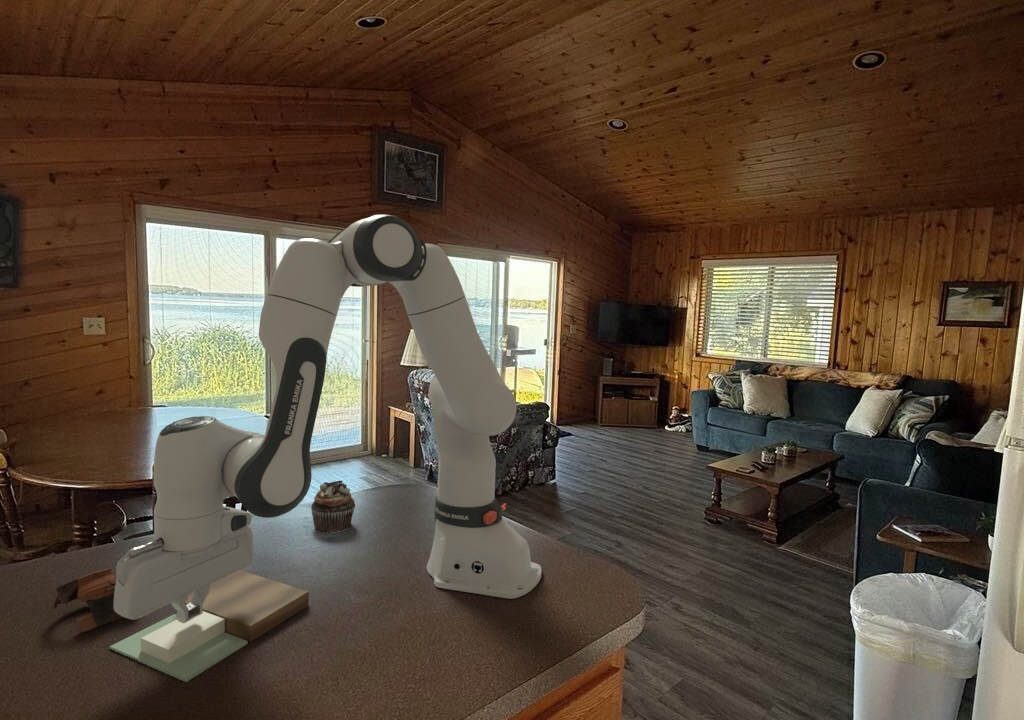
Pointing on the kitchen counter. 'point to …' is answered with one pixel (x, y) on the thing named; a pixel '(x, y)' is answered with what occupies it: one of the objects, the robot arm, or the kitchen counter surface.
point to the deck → (252, 603)
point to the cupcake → (332, 507)
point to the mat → (187, 663)
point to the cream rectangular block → (182, 637)
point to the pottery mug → (91, 598)
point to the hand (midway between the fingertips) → (190, 618)
